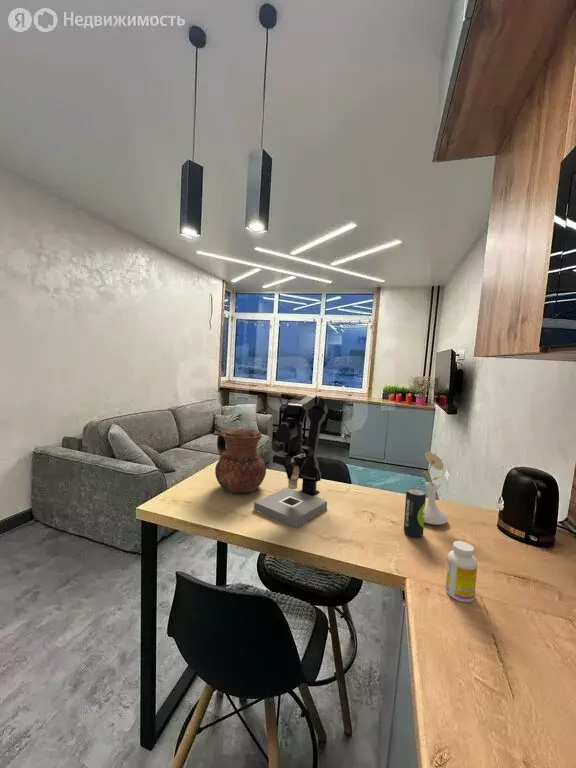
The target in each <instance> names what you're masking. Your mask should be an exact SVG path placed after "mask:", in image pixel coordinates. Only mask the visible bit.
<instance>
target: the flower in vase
mask: <svg viewBox="0 0 576 768" xmlns="http://www.w3.org/2000/svg"><path fill="white" fill-rule="evenodd" d="M425 459H426V461H427V462H428V463H429V465H430V466H429V469H428V472H427V471H426V470H424V471H423V472H422V474H423V475H425V476H426V477H427V478H429V480H430V481H426V482H425V485H426V487H427V491H428V500H427V503H426V502H425V515H424V524H425V523H426V524H429V525H436V526H437V525H444V524H446V523H447V522H448V516H447V514H446V513H445V512H444V511H443V510H442V509H440V508H441V507H438V505H437V504H436V495H437V491H438V490H439V488H440V487H441V484H440V483H438V482H434V481H435V480H438V479H439V477H437V476H436V477H433V478H432V479H431V475H430V472H431V471H430V470H431V468H432V467H433V468H434V469H436V470H437V471H443V470H444V463H443V462H442V461H443V460H442V458H440V457H439V456H437V454H436V453H433V452H432V451H428V452H427V451H426V452H425Z"/></svg>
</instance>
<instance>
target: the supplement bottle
mask: <svg viewBox="0 0 576 768" xmlns="http://www.w3.org/2000/svg"><path fill="white" fill-rule="evenodd" d="M474 552H475V547H474V546H473V545H472V544H470V543H468V542H465V541H463V540H455V541H454V542H453V543H452V550H450V551H449V552H448V554H447V565H446V575H445V576H446V579H445V591H446V593H447V594H448V596H450V597H451V598H452V599H455V600H456V601H457V602H458V601H459V602H461V603H462V602H463V603H470V602H473V601H474V600H475V598H476V587H477V571H478V561H477V558H476V557H475V556H474Z"/></svg>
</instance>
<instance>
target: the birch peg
mask: <svg viewBox="0 0 576 768" xmlns="http://www.w3.org/2000/svg"><path fill="white" fill-rule="evenodd" d="M286 477H287V476H286ZM287 480H288V484H287V485H288V488H290V489H293V490H296V489H297V488H298V480H299V466H297V465H295V467H294V470H293V474H292V477H291V479H288V477H287Z"/></svg>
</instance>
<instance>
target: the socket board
mask: <svg viewBox="0 0 576 768" xmlns="http://www.w3.org/2000/svg"><path fill="white" fill-rule="evenodd" d="M299 491H300V490H296V489H290V488H288V487H285V488H283V489H279V490H278V491H276V492H274V493H271V494H269V495H267V496H265V497H262V498H260V499H258V500H256V501H253V510H254V509H255V510H254V511H256V510H257V511H256V512H258V511H259V512H258V513H260V512H261V513H260V514H262V513H263V515H265V516H267V517H268V518H272V519H275V520H277V521H279V522H281V523H283V524H285V525H288V526H290V527H293V528H295V529H297V528H298V527H300V526H301V525H303V524H305V523H306V522H307V521H309V520H311V519H312V518H314V517H316V516H317V515H319V514H320V513H322V512H324V511H326V510H327V509H328V501H327V500H326V499H325V500H324V499H322V498H319V497H316V496H315V495H313V496H311V495H308V494H305V493H302V492H299Z"/></svg>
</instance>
